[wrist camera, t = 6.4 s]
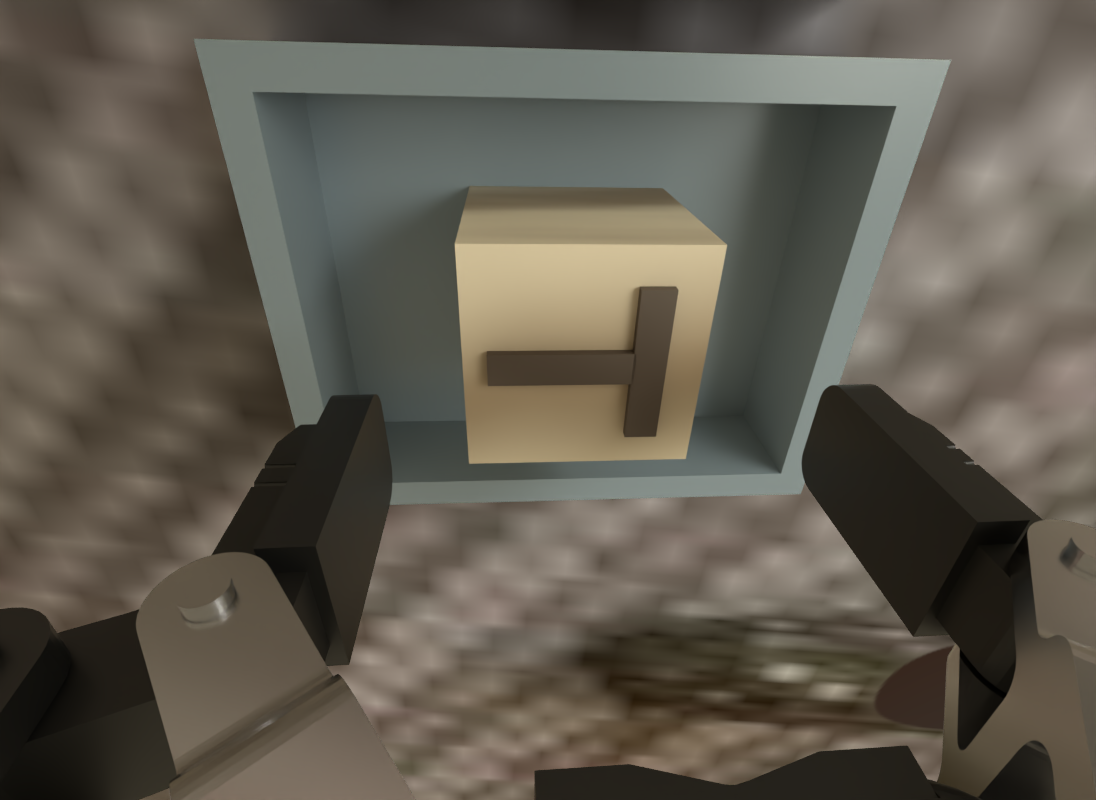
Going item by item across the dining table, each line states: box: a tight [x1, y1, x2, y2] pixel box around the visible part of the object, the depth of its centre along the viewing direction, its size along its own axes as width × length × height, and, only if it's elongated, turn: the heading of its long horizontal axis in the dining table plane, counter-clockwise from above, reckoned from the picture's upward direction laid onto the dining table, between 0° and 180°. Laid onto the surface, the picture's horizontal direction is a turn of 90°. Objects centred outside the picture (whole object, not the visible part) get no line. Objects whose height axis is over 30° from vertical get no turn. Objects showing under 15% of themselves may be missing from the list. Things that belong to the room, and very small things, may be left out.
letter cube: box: [455, 186, 727, 464], centre depth 14 cm, size 5×5×5 cm
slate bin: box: [194, 39, 951, 505], centre depth 15 cm, size 11×14×4 cm
